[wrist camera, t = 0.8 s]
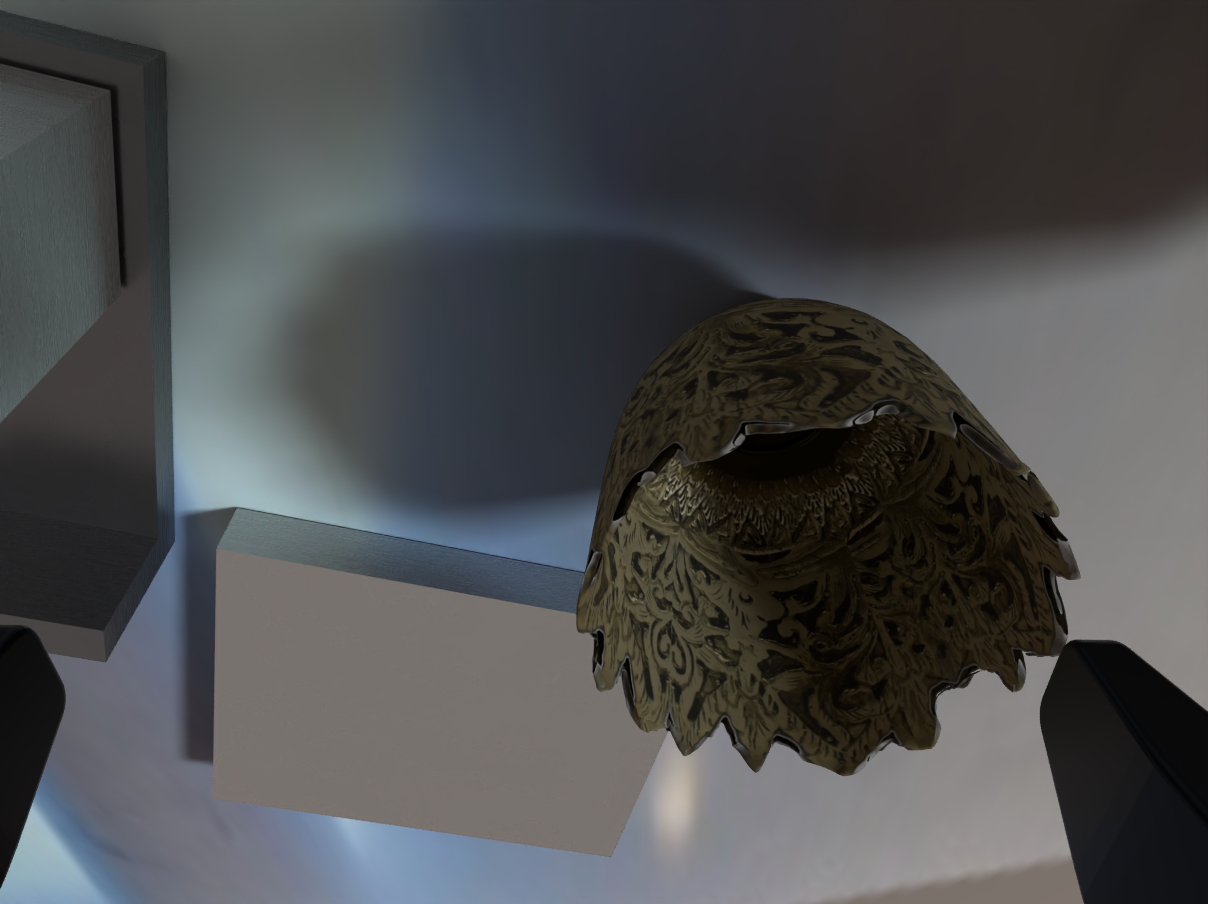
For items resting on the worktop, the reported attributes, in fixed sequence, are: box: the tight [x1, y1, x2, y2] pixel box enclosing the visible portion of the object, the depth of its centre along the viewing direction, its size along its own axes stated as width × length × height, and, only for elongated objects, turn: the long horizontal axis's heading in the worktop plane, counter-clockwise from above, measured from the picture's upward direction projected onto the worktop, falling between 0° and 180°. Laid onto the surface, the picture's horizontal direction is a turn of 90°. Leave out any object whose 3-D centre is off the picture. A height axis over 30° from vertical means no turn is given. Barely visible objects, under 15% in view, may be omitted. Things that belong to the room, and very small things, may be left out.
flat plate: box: [213, 508, 668, 857], centre depth 26 cm, size 12×10×2 cm
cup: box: [576, 298, 1081, 776], centre depth 18 cm, size 8×7×8 cm
